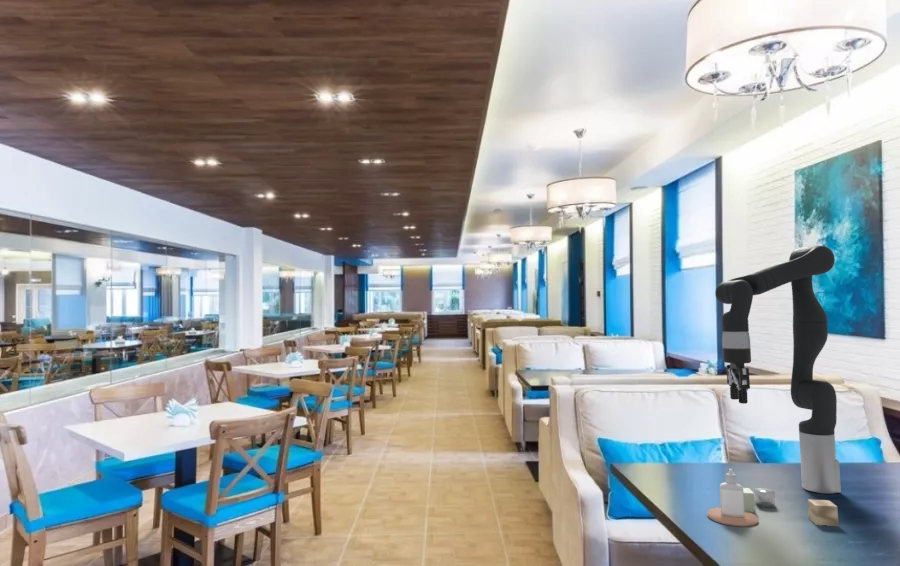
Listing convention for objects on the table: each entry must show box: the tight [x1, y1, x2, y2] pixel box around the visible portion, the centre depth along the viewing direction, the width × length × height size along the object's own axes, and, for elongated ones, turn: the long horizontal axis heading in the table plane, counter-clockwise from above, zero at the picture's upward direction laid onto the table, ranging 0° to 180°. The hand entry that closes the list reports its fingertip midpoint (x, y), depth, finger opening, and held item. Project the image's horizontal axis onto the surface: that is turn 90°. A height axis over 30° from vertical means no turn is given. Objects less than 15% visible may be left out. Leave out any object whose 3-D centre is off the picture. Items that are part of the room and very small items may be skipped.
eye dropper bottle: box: [719, 468, 745, 517], centre depth 148 cm, size 4×6×12 cm
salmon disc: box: [706, 507, 759, 528], centre depth 148 cm, size 12×12×1 cm
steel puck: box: [753, 487, 776, 509], centre depth 158 cm, size 5×5×4 cm
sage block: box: [743, 487, 756, 513], centre depth 156 cm, size 5×5×5 cm
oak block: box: [807, 498, 839, 527], centre depth 144 cm, size 5×5×5 cm
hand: (738, 401), depth 167 cm, fingers open, 8 cm apart
